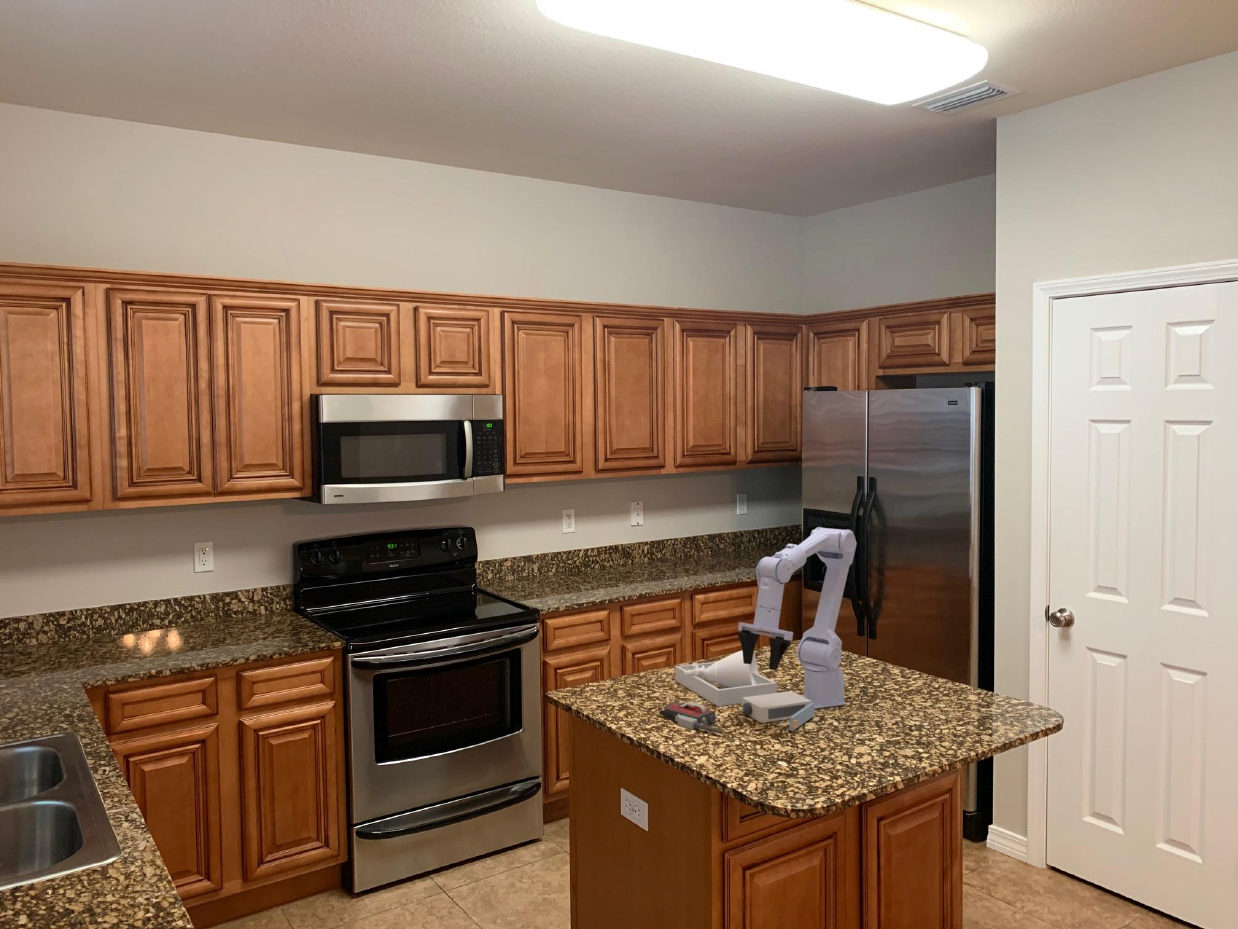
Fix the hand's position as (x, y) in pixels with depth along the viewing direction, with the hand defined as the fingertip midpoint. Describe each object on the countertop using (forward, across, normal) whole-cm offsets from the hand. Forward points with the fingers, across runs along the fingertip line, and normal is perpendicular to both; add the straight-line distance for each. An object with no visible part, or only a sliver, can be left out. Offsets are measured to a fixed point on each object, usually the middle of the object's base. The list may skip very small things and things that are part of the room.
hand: (759, 666), depth 217 cm
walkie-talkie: (+16, -12, -6) cm, 21 cm away
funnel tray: (+9, -25, +19) cm, 33 cm away
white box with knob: (+11, -3, +13) cm, 17 cm away
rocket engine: (+9, -25, +19) cm, 33 cm away
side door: (+11, +7, +11) cm, 17 cm away
